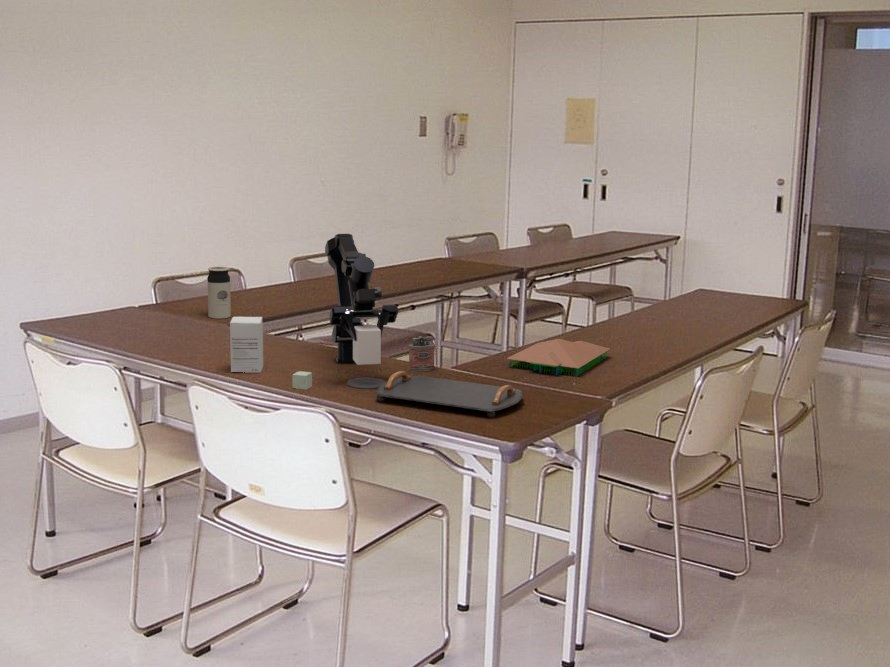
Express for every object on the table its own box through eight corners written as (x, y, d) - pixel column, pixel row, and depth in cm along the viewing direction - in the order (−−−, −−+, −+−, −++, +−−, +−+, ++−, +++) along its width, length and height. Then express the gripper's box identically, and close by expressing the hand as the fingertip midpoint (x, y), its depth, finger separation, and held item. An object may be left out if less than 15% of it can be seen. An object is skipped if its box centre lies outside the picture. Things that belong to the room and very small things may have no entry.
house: (502, 371, 316) (503, 344, 315) (542, 350, 345) (543, 325, 344) (574, 381, 307) (576, 353, 305) (609, 358, 336) (611, 333, 334)
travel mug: (207, 315, 387) (206, 266, 384) (229, 314, 390) (228, 266, 386) (209, 319, 380) (208, 270, 376) (231, 318, 382) (230, 269, 379)
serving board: (364, 402, 279) (365, 380, 278) (403, 383, 300) (403, 361, 298) (502, 422, 264) (502, 398, 263) (532, 400, 285) (533, 378, 283)
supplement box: (233, 365, 314) (232, 316, 311) (263, 365, 315) (263, 316, 311) (230, 373, 305) (228, 322, 302) (261, 373, 306) (260, 322, 303)
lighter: (410, 371, 311) (410, 338, 309) (407, 368, 314) (407, 336, 312) (436, 370, 314) (436, 337, 311) (433, 367, 317) (433, 335, 315)
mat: (345, 379, 301) (345, 377, 301) (383, 378, 303) (383, 377, 303) (348, 389, 290) (348, 387, 290) (388, 388, 292) (388, 386, 292)
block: (298, 385, 294) (298, 371, 293) (311, 386, 293) (311, 372, 292) (292, 388, 290) (292, 374, 289) (306, 390, 289) (306, 375, 288)
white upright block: (352, 359, 297) (353, 326, 295) (375, 358, 299) (375, 325, 297) (357, 364, 291) (357, 331, 289) (380, 363, 293) (380, 330, 291)
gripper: (331, 277, 291) (338, 325, 283) (397, 276, 296) (406, 322, 288) (326, 300, 300) (333, 347, 292) (390, 298, 305) (398, 344, 297)
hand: (368, 339), depth 292 cm, fingers closed on white upright block, 6 cm apart
